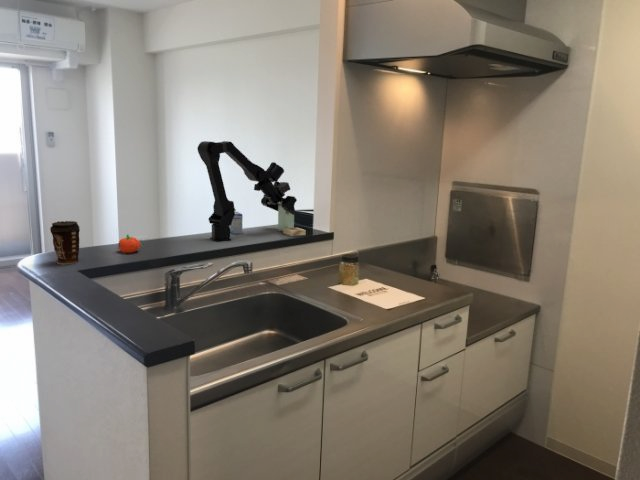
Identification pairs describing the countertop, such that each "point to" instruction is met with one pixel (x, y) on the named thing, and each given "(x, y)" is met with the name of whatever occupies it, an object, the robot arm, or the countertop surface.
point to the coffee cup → (66, 241)
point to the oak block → (294, 231)
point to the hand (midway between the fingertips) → (288, 213)
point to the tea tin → (284, 218)
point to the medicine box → (236, 224)
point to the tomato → (129, 244)
